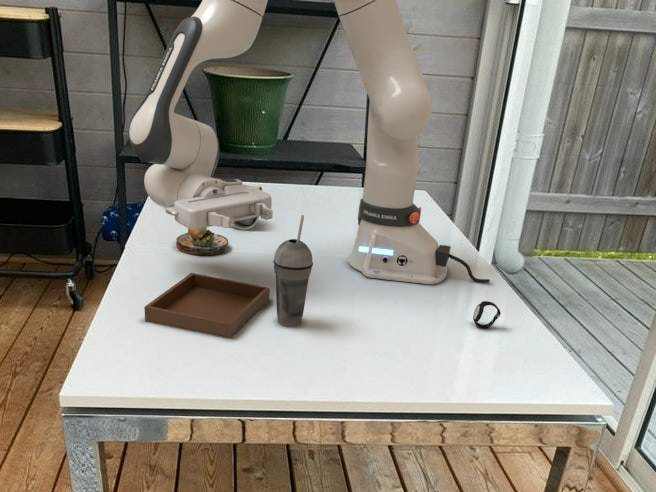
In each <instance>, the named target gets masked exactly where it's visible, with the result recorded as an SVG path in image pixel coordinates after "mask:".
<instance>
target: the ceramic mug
mask: <svg viewBox="0 0 656 492" xmlns="http://www.w3.org/2000/svg"><path fill="white" fill-rule="evenodd" d="M259 219H260V216H259V217H254V218H249V219H244V220H239V221H235V222H234V227H233V228H236V229H238V230H241V231H247V230H251V229H253V228H254V227H255V226H256V225H257V223H258V222H259Z"/></svg>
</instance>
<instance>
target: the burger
mask: <svg viewBox="0 0 656 492" xmlns="http://www.w3.org/2000/svg"><path fill="white" fill-rule="evenodd" d="M175 245H176V248H178V250H179V251H182V252H184V253H188V254H191V255H200V256H211V255H213V256H214V255H219V254H222V253H224V252H225V248H226V247H227V246H228V245H229V239H228V238H227V237H225V236H224V235H221V234H217V233H215V232H212V231H211V230H210V229H208V227H205V228H201V229H189V228H187V232H185V233H183V234H180V235H179V236H178V237H176V243H175Z"/></svg>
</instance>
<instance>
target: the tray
mask: <svg viewBox="0 0 656 492" xmlns="http://www.w3.org/2000/svg"><path fill="white" fill-rule="evenodd" d="M270 298H271V287H268V286H265V285H264V286H263V285H259V284H254V283H248V282H242V281H238V280H232V279H231V280H230V279H228V278H222V277H216V276H211V275H206V274H200V273H195V272H190V273H189V274H187V275H186V276H184V278H182V279H181V280H179V281H177V282H176V283H175V284H174V285H172V286H171V287H169V288H168V289H167V290H166V291H164V292H163V293H161V294H160V295H159V296H157V297H156V298H154V299H153V300H152V301H150V302H148V304H146V305H145V306H144V321H145V322H146V323H147V322H148V323H152V324H157V325H161V326H165V327H171V328H176V329H180V330H181V329H182V330H187V331H190V332H196V333H199V334H205V335H210V336H214V337H220V338H225V339H229V340H231V339H233V338H234V337H235V336H236V335H237V334H238V333H239V332H240V331H241V330H242V329H243V328H245V326H246V325H247V324H248V323H249V322H250V321H251V320H252V319H253V318H254V317H255V316H256V315H257V314H258V313H259V312H261V310H262V309H263V308H264V307H266V305H267V304H269V302H270V300H271V299H270Z"/></svg>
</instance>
